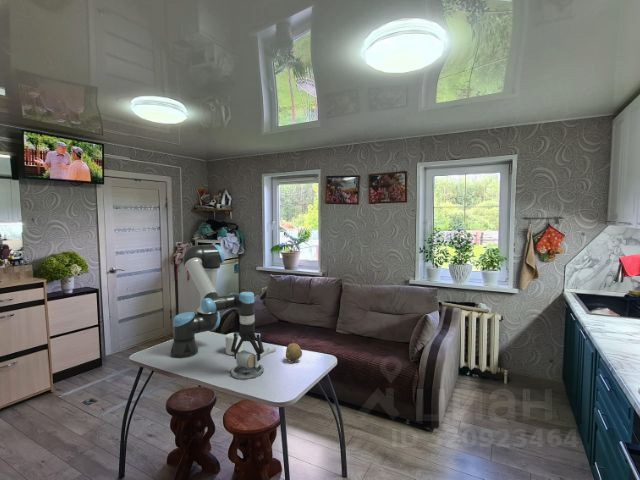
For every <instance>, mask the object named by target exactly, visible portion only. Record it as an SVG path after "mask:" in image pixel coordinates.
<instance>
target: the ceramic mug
mask: <svg viewBox="0 0 640 480" xmlns="http://www.w3.org/2000/svg"><path fill="white" fill-rule="evenodd" d="M255 355H256V354H254V353H253V352H250V351H247V350H245V349H244V350H242V351H241V352H239V354H238V356H237V364H238V365H240V366H243V367H246V368H253V367H254V366H255V364H256V363H255Z"/></svg>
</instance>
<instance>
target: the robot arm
mask: <svg viewBox="0 0 640 480" xmlns="http://www.w3.org/2000/svg"><path fill="white" fill-rule="evenodd" d="M225 259H226V257H225V252H224V249H223V247H222V246H221V245H219V244H201V245H199V244H196V245H192V246H190V247H188V248H187V249H186V250H185V252H184V254H183V255H182V265H183V267H184V269H185V271H187V272H188V273H189V275H190V276H191V278H192V281H193V283H194V284H195V286H196V288H197V290H198V292H199V294H200V301H199V302H200V303H199V307H198V308H196V309H197V310H196V313H195V312H193V311H187V312H186V311H185V312H181V313H178V314H176V315H175V316H174V318H173V323H172V326H173V328H172V329H173V330H172V334H173V343H172V345H171V348H170V353H169V354H170V357H172V358H176V359H184V358H190V357H194V356H195V355H196V354H198V352H199V346H198V344H197V342H196V337H195V335H196V334H200V333H205V332H211V331H213V330H214V331H215V330H216V329H217V328H218V327H219V326H220V322H221V314H220V312H223V311H229V310H233V309H237V310H239V311H238V312H239V316H238V317H239V332H238V331H235V332H233V333H234V340H233V344H232V348H231V352H234V355H233V356H234V357H233V359H235V366H239V365H238V364H237V356H238V354H239V352H238V350H239V349H240V347H241V345H242V343H243V341H244V342H249V343H250V344H251V346H252V348H253V350H254V351H255V353H256V354H254V355H255V363H256V368H257V367H258V366H259V364H260V361H261V359H260V354H262V353H263V352H264V350H265V349H264V346H263V342H262V338H261V337H262V335H261V333H260V332H259V333H256V332H255V330H256V329H255V325H256V324H255V320H256V319H255V294H254V292H252V291H243V292H240V293H237V292H231V293H230V294H225V295H219V294H218V292H217V277H218V270H219V269H220V268H221V265H222V264H223V263H225ZM238 336H240V337H241V339H240V341H239V344H238V345H237V347H236V343H237V339H238ZM255 338H256V340H255ZM235 347H236V349H235Z"/></svg>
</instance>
